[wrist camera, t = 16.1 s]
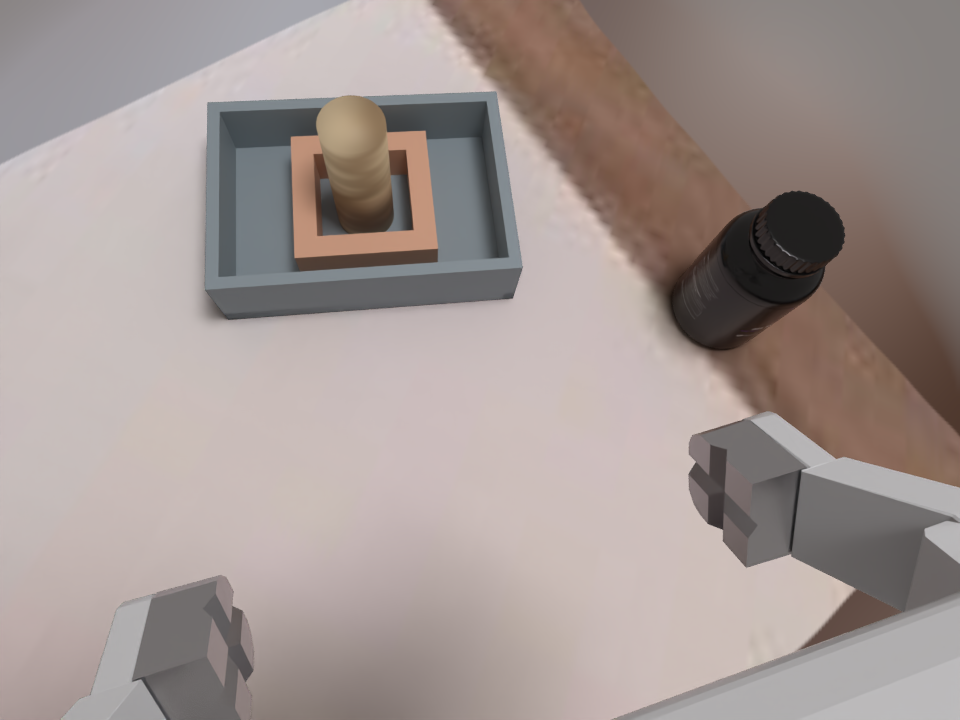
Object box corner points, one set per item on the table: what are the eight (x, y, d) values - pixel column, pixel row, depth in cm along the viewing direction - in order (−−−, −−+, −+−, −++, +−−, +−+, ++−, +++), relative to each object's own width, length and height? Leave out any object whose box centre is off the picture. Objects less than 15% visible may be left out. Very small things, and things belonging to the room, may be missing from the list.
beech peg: (339, 240, 46) (317, 155, 36) (336, 191, 47) (314, 96, 38) (396, 236, 46) (388, 151, 37) (391, 188, 47) (383, 94, 38)
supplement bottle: (742, 367, 46) (846, 301, 35) (656, 326, 47) (730, 249, 36) (770, 290, 49) (875, 205, 37) (687, 252, 49) (766, 156, 38)
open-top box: (228, 319, 44) (204, 289, 40) (228, 147, 49) (207, 102, 44) (512, 298, 47) (522, 267, 42) (489, 136, 51) (496, 91, 46)
